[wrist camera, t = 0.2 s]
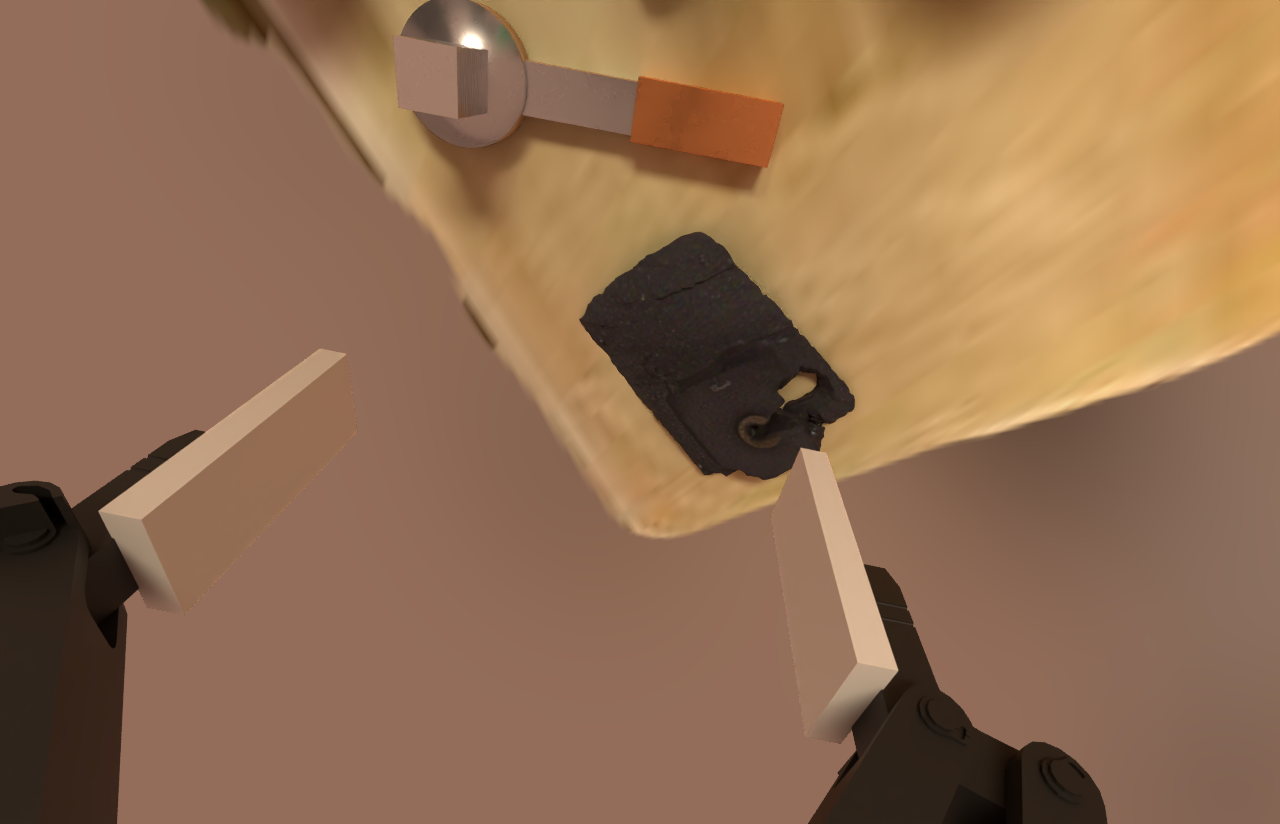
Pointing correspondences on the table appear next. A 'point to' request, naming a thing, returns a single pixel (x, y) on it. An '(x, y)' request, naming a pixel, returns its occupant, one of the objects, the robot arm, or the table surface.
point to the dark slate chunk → (715, 359)
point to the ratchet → (558, 92)
